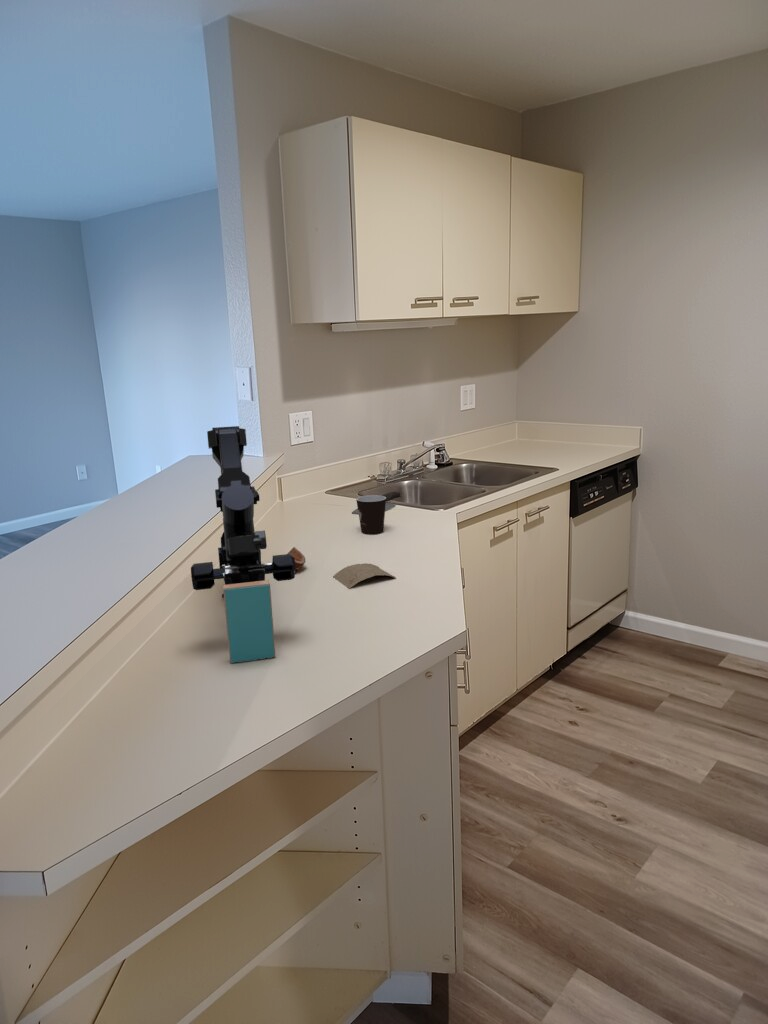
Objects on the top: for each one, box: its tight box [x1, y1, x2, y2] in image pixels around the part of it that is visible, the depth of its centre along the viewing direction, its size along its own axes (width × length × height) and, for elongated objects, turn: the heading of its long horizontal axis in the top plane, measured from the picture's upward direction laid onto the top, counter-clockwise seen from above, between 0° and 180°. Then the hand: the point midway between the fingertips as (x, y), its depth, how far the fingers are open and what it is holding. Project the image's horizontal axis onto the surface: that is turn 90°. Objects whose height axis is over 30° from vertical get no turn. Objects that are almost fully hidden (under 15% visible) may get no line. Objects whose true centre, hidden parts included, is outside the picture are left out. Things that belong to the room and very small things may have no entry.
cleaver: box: [351, 491, 401, 516], centre depth 243 cm, size 29×10×2 cm, turn 155°
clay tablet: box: [332, 562, 397, 589], centre depth 171 cm, size 14×10×3 cm
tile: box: [222, 579, 276, 664], centre depth 128 cm, size 2×8×14 cm, turn 104°
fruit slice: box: [287, 546, 306, 571], centre depth 178 cm, size 8×7×5 cm
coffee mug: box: [355, 494, 387, 536], centre depth 211 cm, size 12×9×10 cm
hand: (248, 613), depth 130 cm, fingers closed
